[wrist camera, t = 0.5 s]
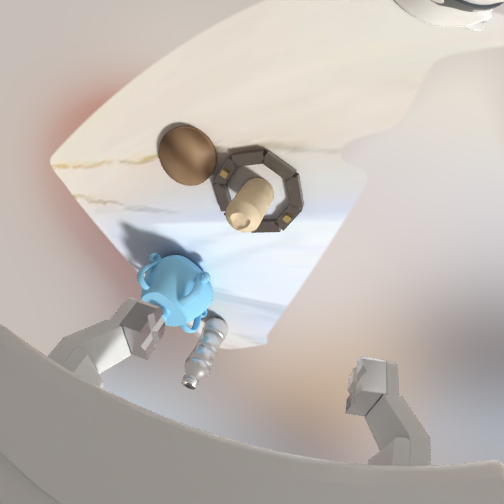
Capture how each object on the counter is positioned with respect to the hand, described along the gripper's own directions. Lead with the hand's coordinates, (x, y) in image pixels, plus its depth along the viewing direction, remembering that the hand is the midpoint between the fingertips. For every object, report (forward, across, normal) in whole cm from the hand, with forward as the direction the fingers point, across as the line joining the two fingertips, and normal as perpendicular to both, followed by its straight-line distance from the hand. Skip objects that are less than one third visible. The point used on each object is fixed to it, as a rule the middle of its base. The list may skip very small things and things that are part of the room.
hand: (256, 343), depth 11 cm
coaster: (+40, +22, +6) cm, 46 cm away
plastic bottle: (+44, +17, +50) cm, 69 cm away
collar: (+40, +9, +11) cm, 42 cm away
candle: (+40, +9, +11) cm, 43 cm away
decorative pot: (+43, +25, +36) cm, 62 cm away
